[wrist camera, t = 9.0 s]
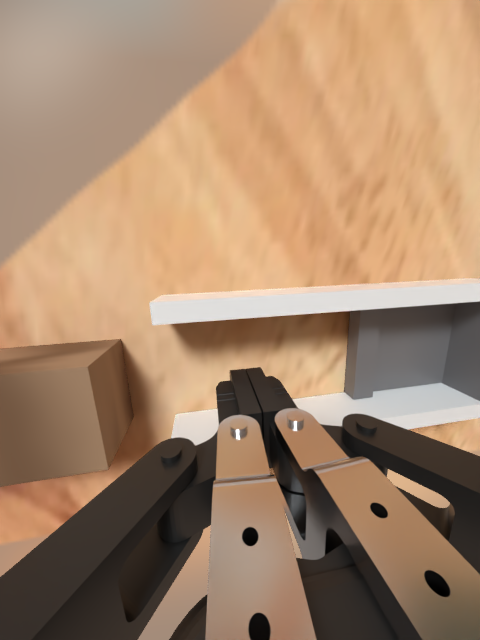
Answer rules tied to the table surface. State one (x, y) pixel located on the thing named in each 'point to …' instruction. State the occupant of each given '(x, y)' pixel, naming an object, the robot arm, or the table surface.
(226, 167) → the table surface
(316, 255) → the table surface
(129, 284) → the table surface
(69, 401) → the walnut block
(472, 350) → the trap channel
